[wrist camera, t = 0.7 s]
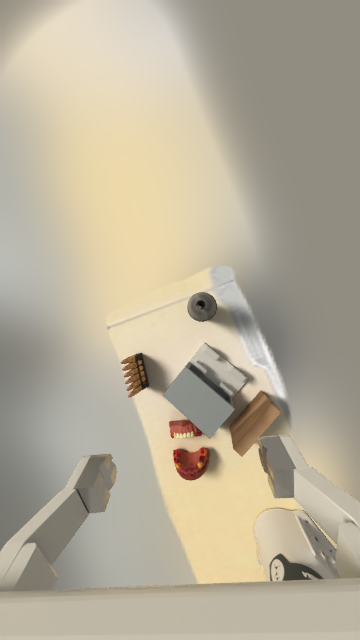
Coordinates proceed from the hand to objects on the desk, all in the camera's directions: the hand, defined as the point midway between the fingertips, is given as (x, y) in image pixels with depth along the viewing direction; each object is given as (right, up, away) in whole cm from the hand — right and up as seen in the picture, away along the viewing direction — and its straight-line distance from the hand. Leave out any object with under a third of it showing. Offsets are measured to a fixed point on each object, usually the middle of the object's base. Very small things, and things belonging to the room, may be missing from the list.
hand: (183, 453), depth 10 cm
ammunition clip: (-12, -9, +48) cm, 51 cm away
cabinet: (+8, -12, +44) cm, 46 cm away
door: (+20, -19, +42) cm, 50 cm away
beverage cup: (+7, +10, +46) cm, 47 cm away
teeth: (+3, -28, +45) cm, 53 cm away
